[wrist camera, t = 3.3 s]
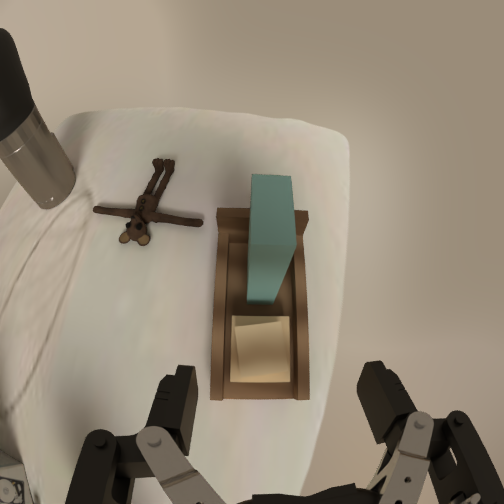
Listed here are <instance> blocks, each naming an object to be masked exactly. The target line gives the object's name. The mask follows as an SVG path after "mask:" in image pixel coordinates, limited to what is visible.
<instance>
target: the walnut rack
mask: <svg viewBox="0 0 504 504" xmlns="http://www.w3.org/2000/svg"><path fill="white" fill-rule="evenodd" d="M294 215H295V228H296V242H297V246H296V249H295V251H294V254H293V256H292V259H291V261H290V264H289V266H288V269H287V271H286V274H285V276H284V279H283V281H282V284H281V286H280V288H279V291H278V293H277V296H276V298H275V301H274V303H273V305H256V304H247V263H248V240H249V220H250V208H217V215H216V218H217V225H218V232H219V234H218V247H217V261H216V276H215V292H214V309H213V329H212V353H211V384H210V400H220V401H222V400H223V399H293V398H294V399H296V400H310V382H309V334H308V309H307V290H306V274H305V259H304V246H303V233H304V231H305V228H306V226H307V223H308V221H309V217H308V211H301V210H294ZM232 316H289V329H290V382H230V371H231V333H232Z"/></svg>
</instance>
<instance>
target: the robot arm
mask: <svg viewBox="0 0 504 504" xmlns="http://www.w3.org/2000/svg"><path fill="white" fill-rule="evenodd" d="M0 158H1V160H2V161H3V163H4V164H5V165H6V167H7V168H8V169H9V171H10V172H11V173H12V174H13V176H14V177H15V178H16V179H17V181H18V182H19V183H20V184H21V186H22V187H23V188H24V189H25V191H26V192H27V193H28V194H29V195H30V196H31V198H32V199H33V200H34V201H35V202H36V203H37V204H38V206H39V207H40V208H42V209H50V208H53V207H55V206H57V205H58V204H60V203H61V202H62V201H63V200H64V199H65V198H66V197H67V196H68V194H69V193H70V192H71V190H72V188H73V186H74V183H75V174H74V172H73V166H72V164H71V162H70V161H69V159H68V157H67V156H66V154H65V152H64V150H63V149H62V147H61V145H60V144H59V142H58V140H57V138H56V136H55V135H54V133H50V131H49V130H48V128H47V126H46V124H45V122H44V121H43V119H42V117H41V115H40V113H39V111H38V109H37V107H36V105H35V103H34V101H33V99H32V96H31V92H30V87H29V83H28V81H27V78H26V76H25V73H24V70H23V67H22V64H21V61H20V58H19V55H18V51H17V48H16V46H15V43H14V41H13V38H12V37H11V35H10V34H9V33H8V32H7V31H6V30H5V29H3V28H0ZM401 383H402V382H401V381H400V379H399V377H398V376H397V375H396V374H395V373H394V372H393V371H392V370H390V369H386V368H385V366H384V364H383V362H382V361H373V362H367V363H365V365H364V367H363V370H362V373H361V375H360V378H359V381H358V383H357V394H358V397H359V400H360V402H361V405H362V407H363V410H364V412H365V415H366V417H367V420H368V422H369V425H370V428H371V430H372V432H373V435H374V438H375V441H376V443H377V444H381V443H384V442H385V443H386V446H387V448H386V450H385V452H384V454H383V457H382V459H381V461H380V464H379V466H378V468H377V471H376V473H375V475H374V477H373V479H372V480H371V482H370V483H369V485H368V486H367V488H366V489H362V488H356V486H355V483H352V484H348V485H343V486H337V487H332V488H329V489H327V490H324V491H321V492H319V493H316V494H313V495H311V496H306V497H303V496H294V495H285V494H254V495H252V499H251V500H246V501H243V502H240V503H237V504H417V502H418V499H419V496H420V493H421V490H422V487H423V484H424V481H425V478H426V474H427V471H428V472H429V475H430V478H431V481H432V484H433V486H434V489H435V492H436V495H437V499H438V502H439V504H504V488H503V486H502V483H501V481H500V478H499V476H498V474H497V472H496V469H495V468H494V465H493V463H492V461H491V459H490V457H489V455H488V453H487V451H486V449H485V447H484V445H483V443H482V441H481V439H480V437H479V435H478V433H477V431H476V430H475V428H474V426H473V424H472V423H471V421H470V419H469V417H468V416H467V415H466V414H465V413H464V412H462V411H458V410H457V411H452V412H451V413H450V414H449V415H448V416H447V418H444V419H432V418H431V416H430V415H428V414H427V413H424V412H419V411H417V409H416V407H415V405H414V404H413V402H412V400H411V399H410V396H409V395H408V393H407V391H406V390H405V388H404V386H403V384H401ZM197 401H198V385H197V378H196V370H195V366H187V365H178V367H177V370H176V373H175V375H166V376H165V377H164V378H163V379H162V380H161V381H160V383H159V386H158V389H157V392H156V395H155V399H154V401H153V404H152V407H151V411H150V414H149V417H148V420H147V423H146V426H145V427H144V429H142V430H141V431H140V432H139V433H137V434H135V435H130V436H114V435H113V434H112V433H111V432H109V431H107V430H103V429H98V430H94V431H92V432H90V433H89V434H88V435H87V437H86V439H85V441H84V444H83V447H82V450H81V453H80V456H79V459H78V462H77V465H76V468H75V471H74V474H73V477H72V481H71V484H70V487H69V491H68V494H67V498H66V502H65V504H131V499H132V493H133V487H134V482H135V478H145V477H156V478H157V480H158V482H159V483H160V485H161V487H162V488H163V490H164V491H165V493H166V494H167V496H168V497H169V499H170V500H171V501H172V503H173V504H226V503H225V502H224V501H223V500H222V499H221V498H220V496H219V495H218V494H217V493H216V492H215V491H214V490H213V488H212V487H211V486H210V485H209V484H208V482H207V481H206V480H205V479H204V477H203V476H202V475H201V474H200V473H199V472H198V471H197V470H195V469H194V468H193V467H192V466H191V464H190V463H189V462H188V460H187V459H186V457H185V456H189V450H190V443H191V437H192V431H193V424H194V418H195V412H196V406H197ZM450 448H451V449H452V451H453V453H454V455H455V457H456V460H457V466H456V463H455V461H454V459H453V456H452V454H451V452H450Z"/></svg>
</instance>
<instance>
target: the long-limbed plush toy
mask: <svg viewBox="0 0 504 504" xmlns="http://www.w3.org/2000/svg"><path fill="white" fill-rule="evenodd" d="M152 164H153V166H154V168H155V173H154V174H153V176H152V179H151V180H150V182H149V183H148V186H147V188H146V190H145V192H144V194H143V195H140V196H139V197H138V199H137V204H136V208H135V209H119V208H105V207H100V206H95V207H94V208H93V212H94V213H99V214H106V215H113V216H121V217H124V218H131V221H130V222H128V223H127V224H126V228H127V231H126V232H124V233H122V234H121V235H120V237H119V242H120V243H123V244H125V243H127V242H129V241H130V239H132V240H133V241H137V242H138V244H139V245H140V246H145V245H147V244H148V243H149V241H150V236H149V235H147V234H146V233H147V228H146V225H145V224H147V223H149V222H151V221H153V222H155V223H157V222H162V223H172V224H177V225H184V226H192V227H201V226H202V225H203V220H201V219H192V218H183V217H178V216H173V215H168V214H162V213H157V212H155V210H156V208H157V206H158V202H159V199H160V197H161V195H162V193H163V191H164V189H165V188H166V185H167V183H168V182H169V179H170V177H171V175H172V174H173V172H174V165H175V161H174V160H170V159H168V160H167V159H165V160H164V161H163V159H159V158H157V159H154V160H153V161H152ZM164 167H165V171H166V172H165V175H164V177H163V179H162V180H161V181H160V184H159V187H158V189H157V191H156V193H155V195H154V196H153V195H150V194H151V192H152V190H153V188H154V186H155V185H156V183H157V181H158V179H159V177H160V175H161V174H162V172H163V171H164Z"/></svg>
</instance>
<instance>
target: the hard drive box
mask: <svg viewBox="0 0 504 504" xmlns="http://www.w3.org/2000/svg"><path fill="white" fill-rule="evenodd" d="M0 504H33V501H32V498H31V494H30V491H29V485H28V481H27V478H26V474H25V469H24V465H23V464H22V463H20V462H18V461H17V460H15V459H13V458H12V457H10V456H9V455H7V454H5V453H4V452H2V451H1V450H0Z"/></svg>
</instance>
